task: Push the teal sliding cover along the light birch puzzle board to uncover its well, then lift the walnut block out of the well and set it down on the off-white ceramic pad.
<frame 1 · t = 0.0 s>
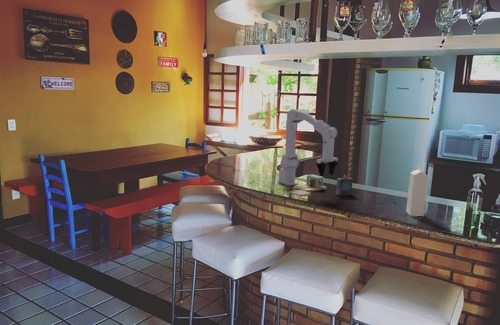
hand: (326, 175, 209), 10 cm above the table, tool pointing down, fingers open, 7 cm apart
block: (314, 183, 224), in the board
cover: (314, 180, 224), point 4 cm above the table, slide at 0.0 cm
flask: (343, 195, 211), on the table
pad: (300, 193, 211), on the table
milk: (414, 215, 179), on the table
board: (314, 187, 225), on the table
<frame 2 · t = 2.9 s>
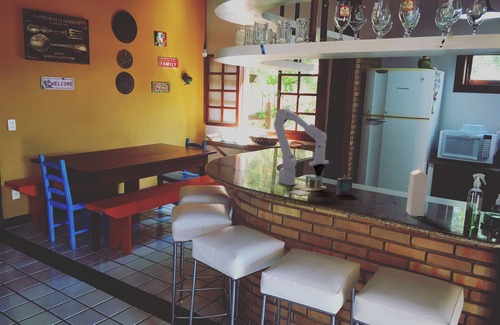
hand: (318, 177, 225), 6 cm above the table, tool pointing down, fingers closed
cover: (313, 181, 224), point 4 cm above the table, slide at 0.8 cm, touching gripper
everything else where it was.
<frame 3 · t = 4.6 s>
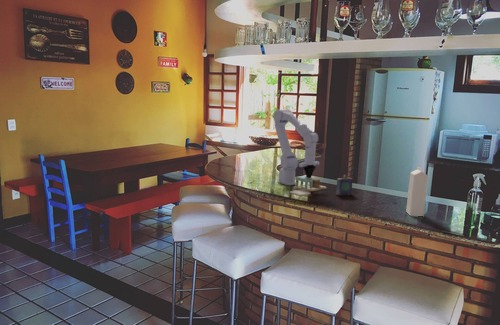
hand: (308, 178, 220), 6 cm above the table, tool pointing down, fingers closed
cover: (304, 182, 219), point 4 cm above the table, slide at 8.8 cm, touching gripper
everything else where it was.
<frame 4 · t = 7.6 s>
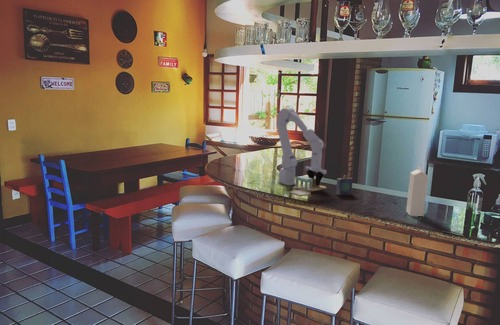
hand: (314, 184, 224), 2 cm above the table, tool pointing down, fingers closed on block, 4 cm apart
block: (314, 183, 224), in the board, touching gripper
cover: (304, 182, 219), point 4 cm above the table, slide at 8.9 cm
everything else where it was.
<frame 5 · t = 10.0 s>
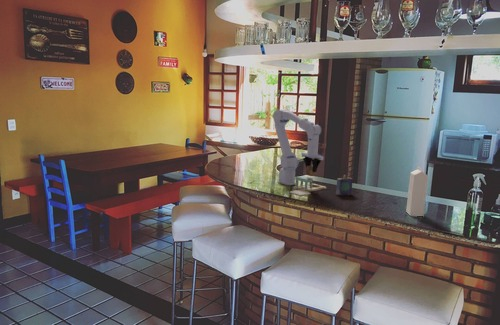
hand: (311, 171, 218), 10 cm above the table, tool pointing down, fingers closed on block, 4 cm apart
block: (311, 170, 218), point 11 cm above the table, touching gripper
everything else where it was.
when the fingers open (4 cm above the table, at t = 12.2 s): block drops 1 cm, resting on pad.
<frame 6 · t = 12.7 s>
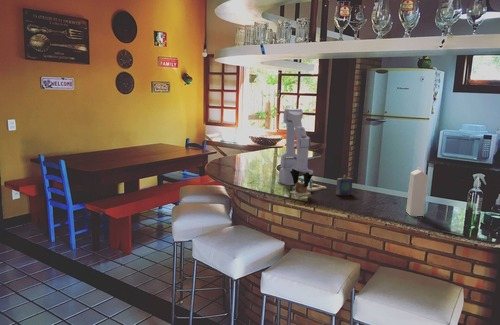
hand: (300, 185, 210), 4 cm above the table, tool pointing down, fingers open, 7 cm apart
block: (301, 187, 210), on the pad, point 3 cm above the table
everything else where it was.
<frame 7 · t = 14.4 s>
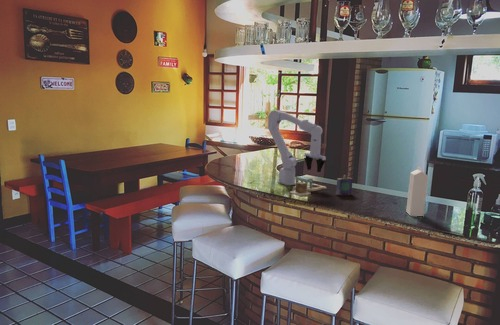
hand: (313, 170, 226), 9 cm above the table, tool pointing down, fingers open, 7 cm apart
nothing on the table moved.
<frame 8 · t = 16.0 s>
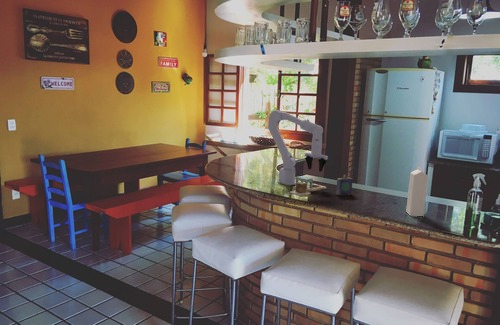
hand: (315, 170, 227), 9 cm above the table, tool pointing down, fingers open, 7 cm apart
nothing on the table moved.
at the end: block 0.4 cm off-centre on the pad, point 3.1 cm above the pad's base; cover slide at 8.9 cm; block tilted 0° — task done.
